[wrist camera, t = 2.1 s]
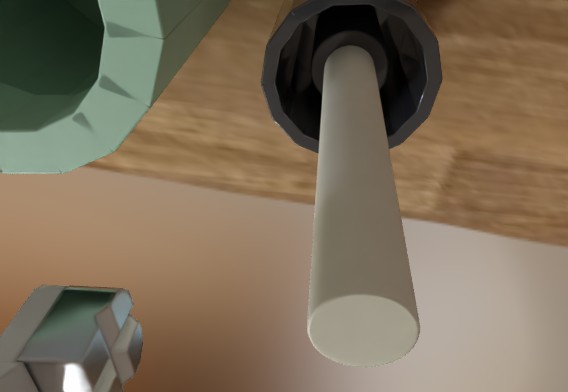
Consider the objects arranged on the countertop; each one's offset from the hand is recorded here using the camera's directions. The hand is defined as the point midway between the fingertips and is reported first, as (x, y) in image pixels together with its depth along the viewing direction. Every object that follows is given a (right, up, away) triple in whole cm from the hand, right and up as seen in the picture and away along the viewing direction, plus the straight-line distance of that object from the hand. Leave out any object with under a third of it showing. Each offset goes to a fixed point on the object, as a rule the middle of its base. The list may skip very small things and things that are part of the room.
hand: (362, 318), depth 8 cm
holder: (+2, +10, +14) cm, 17 cm away
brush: (+1, +9, +13) cm, 17 cm away
